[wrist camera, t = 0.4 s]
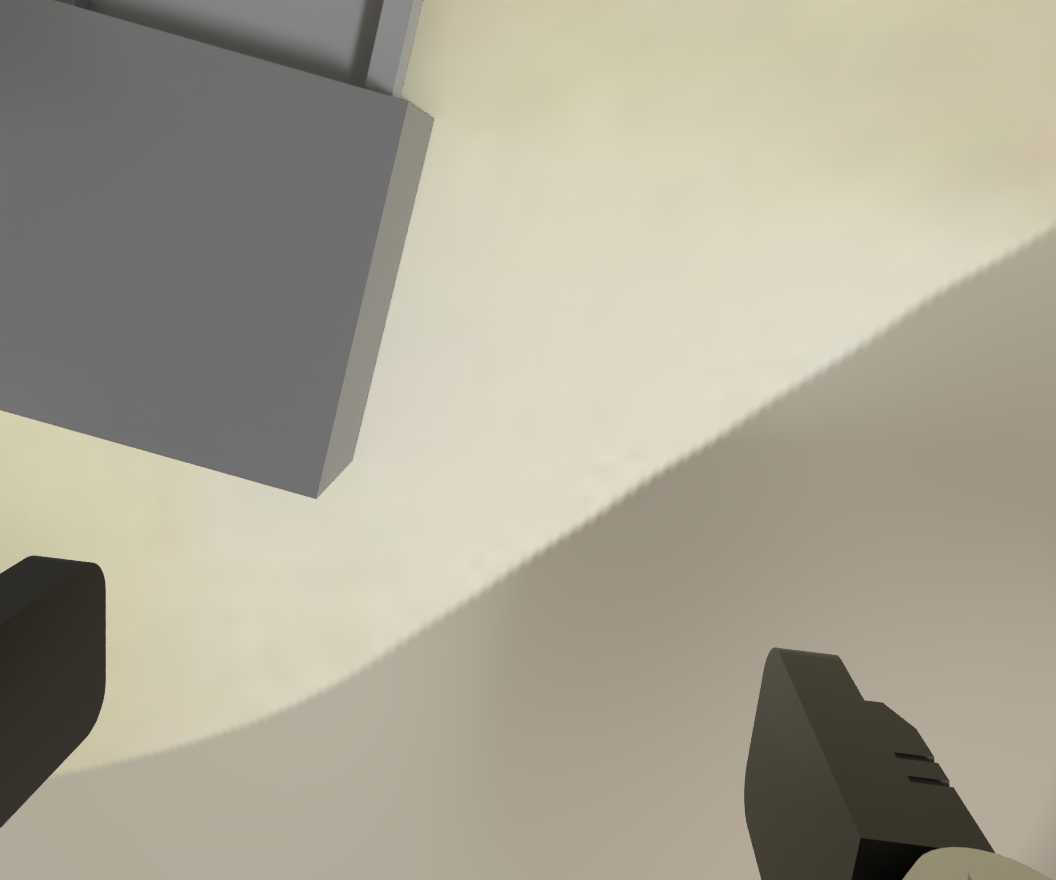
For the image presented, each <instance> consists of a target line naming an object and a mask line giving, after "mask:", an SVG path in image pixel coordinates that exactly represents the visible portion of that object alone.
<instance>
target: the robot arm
mask: <svg viewBox="0 0 1056 880" xmlns="http://www.w3.org/2000/svg"><path fill="white" fill-rule="evenodd" d="M105 683H106V589H105V579H104V575H103V572H102V570H101V568H100V567H99V566H98V565H97V564H96V563H91V562H82V561H74V560H66V559H58V558H50V557H42V556H29V557H27V558H25V559H23V560H22V561H20V562H18V563H17V564H15V565H14V566H12V567H10V568H9V569H7V570H6V571H4V572H2V573H1V574H0V828H1V827H2V826H3V825H4V824H5V823H6V821H7V820H8V819H9V818H10V817H11V816H12V815H13V814H14V813H15V812H16V811H17V810H18V809H19V808H20V807H21V806H22V805H23V804H24V803H25V802H26V800H27V799H28V798H29V797H30V796H31V795H32V794H33V793H34V792H35V791H36V790H37V789H38V788H39V787H40V786H41V785H42V784H43V783H44V782H45V780H46V779H47V778H48V777H49V776H50V775H51V774H52V773H53V772H54V771H55V770H56V769H57V768H58V767H59V766H60V765H61V764H62V763H63V761H64V760H65V759H66V758H67V757H68V756H69V755H70V754H71V753H72V752H73V751H74V750H75V749H76V748H77V747H78V746H79V745H80V744H81V742H82V741H83V740H84V739H85V738H86V737H87V736H88V735H89V733H90V732H91V730H92V728H93V727H94V725H95V723H96V721H97V718H98V716H99V713H100V710H101V707H102V703H103V699H104V694H105ZM744 803H745V815H746V822H747V827H748V830H749V834H750V838H751V842H752V846H753V849H754V853H755V857H756V861H757V865H758V868H759V872H760V876H761V880H1051V879H1049V878H1048V877H1046V876H1044V875H1043V874H1041V873H1040V872H1038V871H1036V870H1034V869H1032V868H1030V867H1028V866H1026V865H1024V864H1022V863H1019V862H1017V861H1015V860H1012V859H1010V858H1007V857H1004V856H1001V855H998V854H996V853H995V852H994V850H993V849H992V847H991V845H990V844H989V843H988V841H987V839H986V838H985V836H984V835H983V833H982V831H981V830H980V828H979V827H978V825H977V824H976V822H975V820H974V819H973V817H972V816H971V814H970V813H969V811H968V810H967V808H966V806H965V805H964V804H963V802H962V800H961V799H960V797H959V795H958V794H957V792H956V791H955V789H954V788H953V787H949V780H948V778H947V777H946V775H945V774H944V772H943V770H942V769H941V767H940V766H939V764H938V763H934V756H933V755H932V753H931V752H930V750H929V748H928V747H927V745H926V744H925V742H924V740H923V739H922V737H921V736H920V734H919V733H918V731H917V729H915V728H914V727H913V726H912V725H910V724H909V723H908V722H907V721H905V720H904V719H903V718H901V717H900V716H899V715H898V714H896V713H895V712H894V711H892V710H891V709H890V708H889V707H887V706H886V705H885V704H884V703H880V702H872V701H865V700H864V699H863V697H862V696H861V694H860V692H859V690H858V689H857V687H856V685H855V683H854V681H853V680H852V678H851V676H850V674H849V673H848V671H847V669H846V667H845V666H844V664H843V662H842V660H841V659H840V658H839V657H838V656H837V655H830V654H823V653H814V652H805V651H798V650H789V649H782V648H773V649H772V650H771V651H770V652H769V654H768V657H767V660H766V663H765V667H764V672H763V677H762V683H761V689H760V694H759V700H758V705H757V711H756V716H755V722H754V727H753V733H752V738H751V744H750V750H749V756H748V761H747V767H746V775H745V788H744Z"/></svg>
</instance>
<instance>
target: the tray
mask: <svg viewBox="0 0 1056 880" xmlns="http://www.w3.org/2000/svg"><path fill="white" fill-rule="evenodd" d="M55 1H59V2H62V3H66V4H69V5H73V6H76V7H80V8H83V9H87V10H90V11H94V12H97V13H101V14H104V15H108V16H111V17H115V18H118V19H122V20H125V21H129V22H132V23H136V24H139V25H143V26H146V27H150V28H153V29H157V30H160V31H164V32H167V33H171V34H174V35H178V36H181V37H185V38H188V39H192V40H195V41H199V42H202V43H206V44H209V45H213V46H216V47H220V48H223V49H227V50H230V51H234V52H237V53H241V54H244V55H248V56H251V57H255V58H258V59H262V60H265V61H269V62H272V63H276V64H279V65H283V66H287V67H290V68H294V69H297V70H301V71H304V72H308V73H311V74H315V75H318V76H322V77H325V78H329V79H332V80H336V81H339V82H343V83H346V84H350V85H353V86H357V87H360V88H364V89H367V90H371V91H374V92H378V93H381V94H385V95H388V96H392V97H395V98H399V99H400V98H401V93H402V89H403V85H404V80H405V76H406V72H407V67H408V63H409V58H410V54H411V50H412V45H413V41H414V37H415V32H416V28H417V24H418V19H419V15H420V11H421V6H422V2H423V0H55Z"/></svg>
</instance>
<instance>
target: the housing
mask: <svg viewBox="0 0 1056 880" xmlns="http://www.w3.org/2000/svg"><path fill="white" fill-rule="evenodd" d="M433 122H434V118H433V117H432V116H430V115H429V114H427V113H426V112H424V111H423V110H421V109H420V108H418V107H416V106H415V105H413V104H412V103H410V102H409V101H406V100H402V99H399V98H395V97H392V96H388V95H385V94H381V93H378V92H374V91H371V90H367V89H364V88H360V87H357V86H353V85H350V84H346V83H343V82H339V81H336V80H332V79H329V78H325V77H322V76H318V75H315V74H311V73H308V72H304V71H301V70H297V69H294V68H290V67H287V66H283V65H279V64H276V63H272V62H269V61H265V60H262V59H258V58H255V57H251V56H248V55H244V54H241V53H237V52H234V51H230V50H227V49H223V48H220V47H216V46H213V45H209V44H206V43H202V42H199V41H195V40H192V39H188V38H185V37H181V36H178V35H174V34H171V33H167V32H164V31H160V30H157V29H153V28H150V27H146V26H143V25H139V24H136V23H132V22H129V21H125V20H122V19H118V18H115V17H111V16H108V15H104V14H101V13H97V12H94V11H90V10H87V9H83V8H80V7H76V6H73V5H69V4H66V3H62V2H59V1H55V0H0V410H2V411H5V412H9V413H13V414H16V415H20V416H23V417H27V418H30V419H34V420H37V421H41V422H45V423H48V424H52V425H55V426H59V427H62V428H66V429H69V430H73V431H77V432H80V433H84V434H87V435H91V436H94V437H98V438H101V439H105V440H109V441H112V442H116V443H119V444H123V445H126V446H130V447H133V448H137V449H141V450H144V451H148V452H151V453H155V454H158V455H162V456H165V457H169V458H173V459H176V460H180V461H183V462H187V463H190V464H194V465H197V466H201V467H205V468H208V469H212V470H215V471H219V472H222V473H226V474H229V475H233V476H237V477H240V478H244V479H247V480H251V481H254V482H258V483H261V484H265V485H269V486H272V487H276V488H279V489H283V490H286V491H290V492H293V493H297V494H301V495H304V496H308V497H311V498H315V499H317V498H318V497H319V495H320V494H321V493H322V492H323V491H324V490H325V489H326V488H327V487H328V486H329V485H330V484H331V483H332V482H333V481H334V480H335V479H336V477H337V476H338V475H339V474H340V473H341V472H342V471H343V470H344V469H345V468H346V467H347V466H348V465H349V464H350V463H351V462H352V460H353V456H354V452H355V447H356V443H357V439H358V435H359V431H360V427H361V422H362V418H363V414H364V410H365V406H366V401H367V397H368V393H369V389H370V385H371V381H372V376H373V372H374V368H375V364H376V360H377V356H378V351H379V347H380V343H381V339H382V335H383V331H384V326H385V322H386V318H387V314H388V310H389V305H390V301H391V297H392V293H393V289H394V285H395V280H396V276H397V272H398V268H399V264H400V260H401V255H402V251H403V247H404V243H405V239H406V234H407V230H408V226H409V222H410V218H411V214H412V209H413V205H414V201H415V197H416V193H417V189H418V184H419V180H420V176H421V172H422V168H423V164H424V159H425V155H426V151H427V147H428V143H429V138H430V134H431V130H432V126H433Z"/></svg>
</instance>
